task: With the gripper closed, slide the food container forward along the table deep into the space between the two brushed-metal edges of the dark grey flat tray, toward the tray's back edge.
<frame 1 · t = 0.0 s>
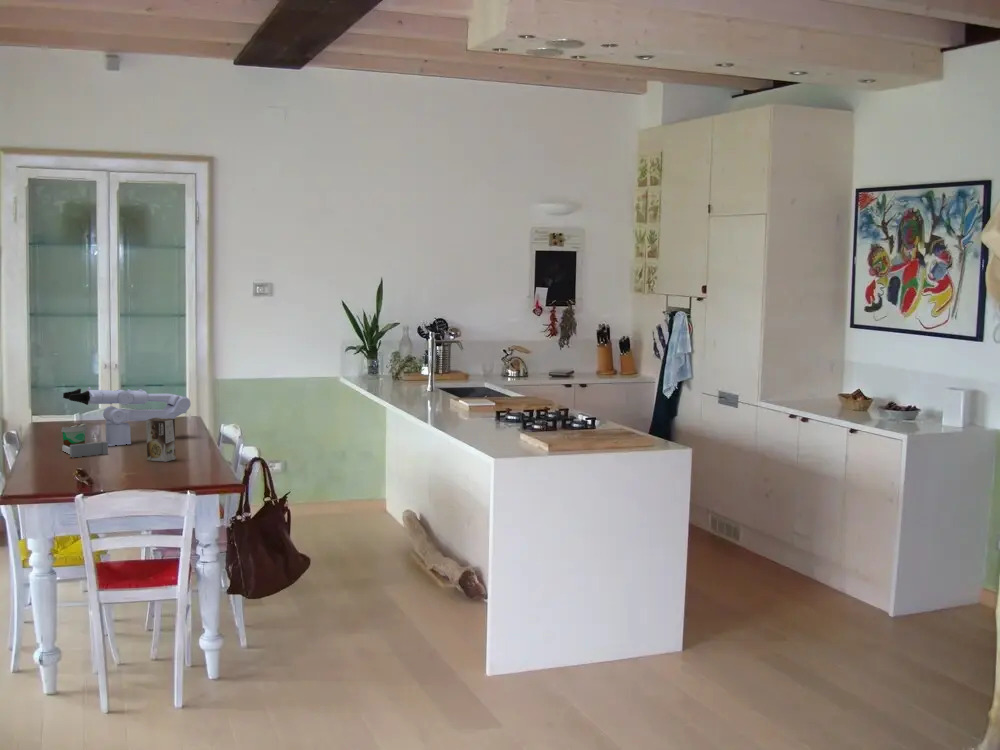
hand: (66, 396, 422), 22 cm above the table, tool horizontal, fingers open, 7 cm apart
food container: (78, 449, 425), on the table
grey flat tray: (83, 453, 416), on the table
coffee box: (161, 460, 405), on the table
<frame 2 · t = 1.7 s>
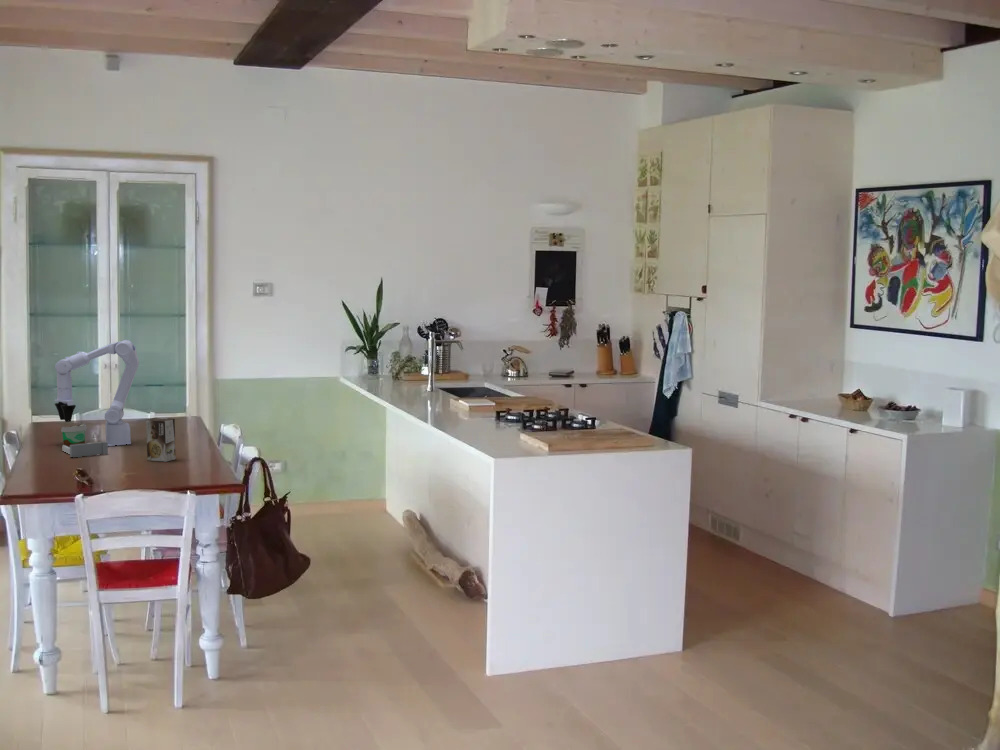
hand: (65, 420, 431), 10 cm above the table, tool pointing down, fingers open, 6 cm apart
nothing on the table moved.
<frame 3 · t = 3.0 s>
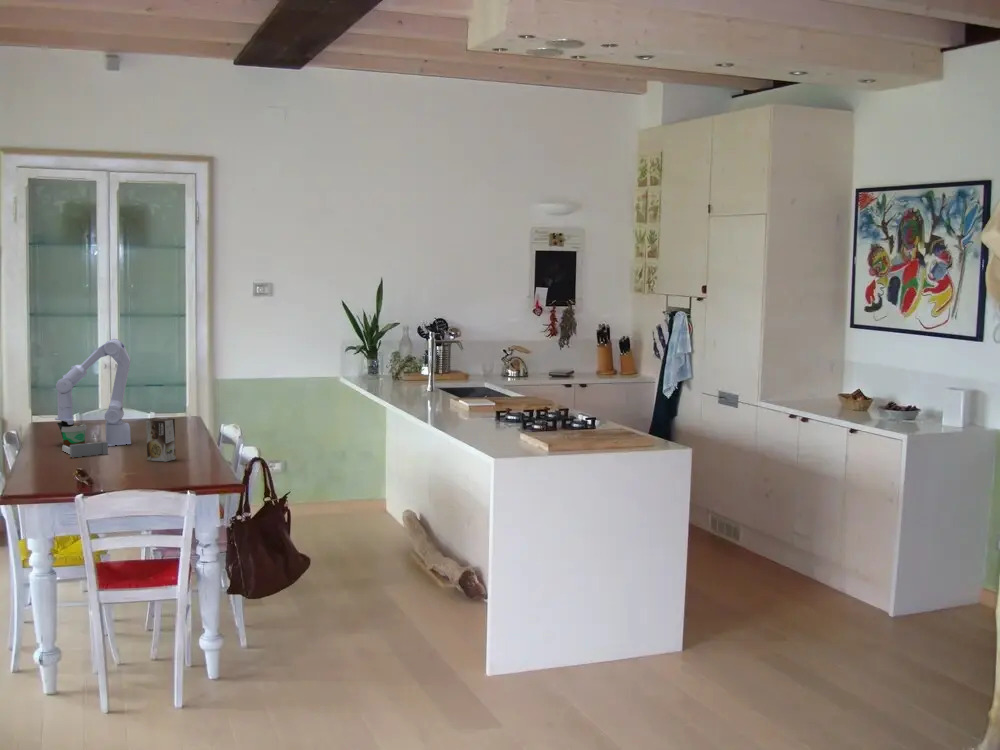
hand: (66, 439, 432), 3 cm above the table, tool pointing down, fingers closed
nothing on the table moved.
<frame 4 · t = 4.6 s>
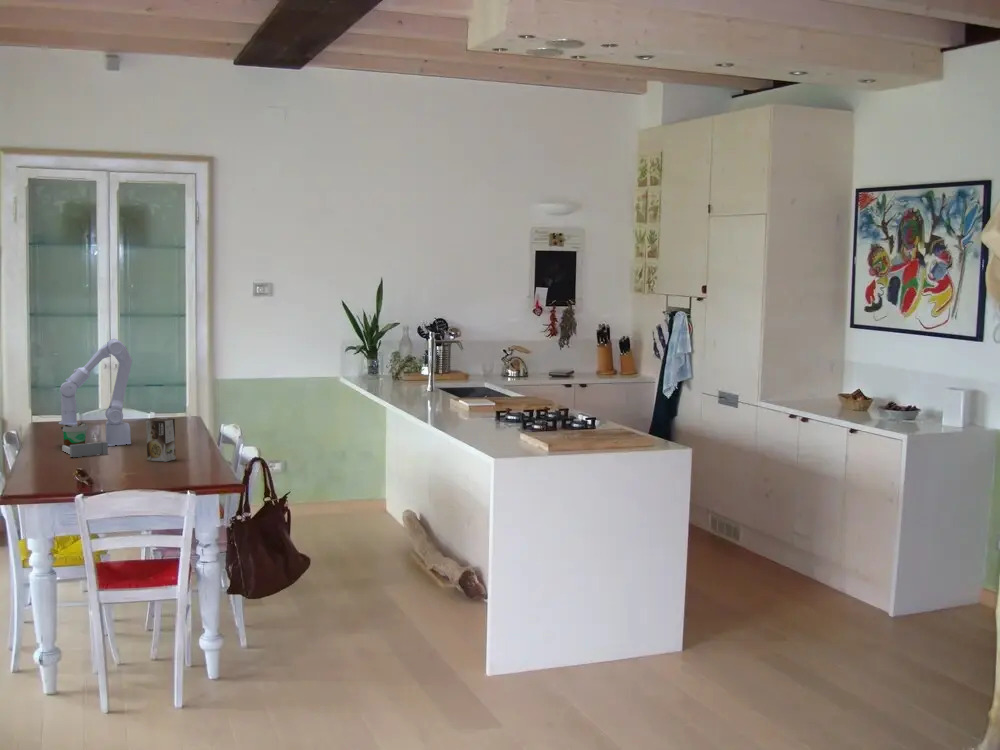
hand: (69, 443, 429), 1 cm above the table, tool pointing down, fingers closed
food container: (78, 449, 425), on the table, touching gripper
everything else where it was.
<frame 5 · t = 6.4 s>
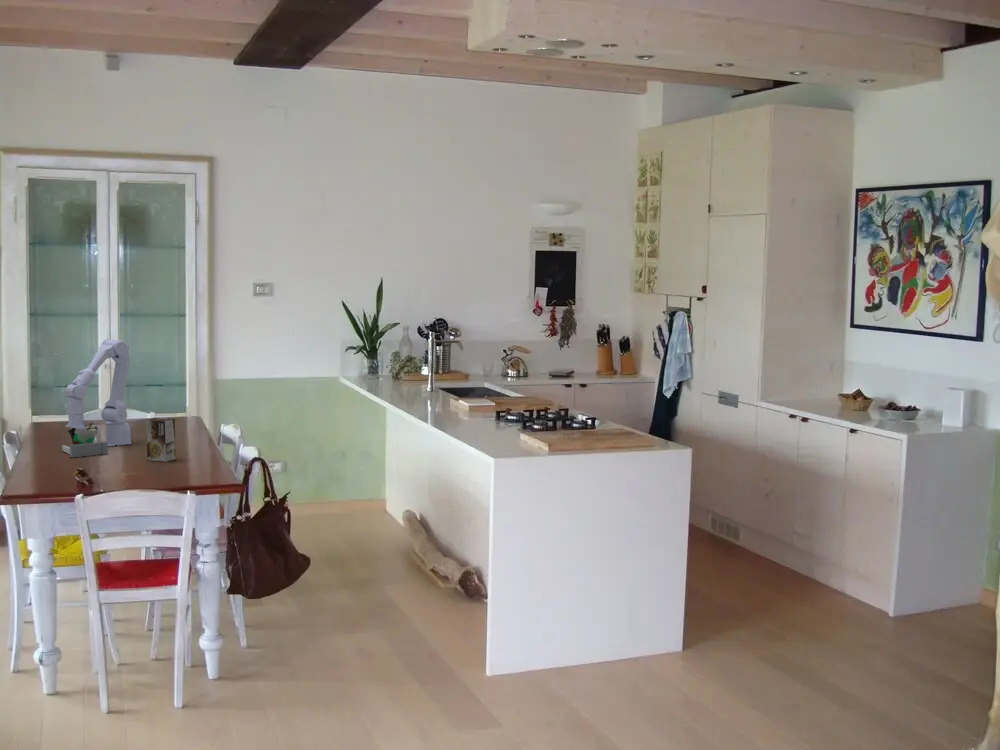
hand: (76, 446, 422), 2 cm above the table, tool pointing down, fingers closed, pressing on food container
food container: (83, 450, 420), on the table, touching gripper
everything else where it was.
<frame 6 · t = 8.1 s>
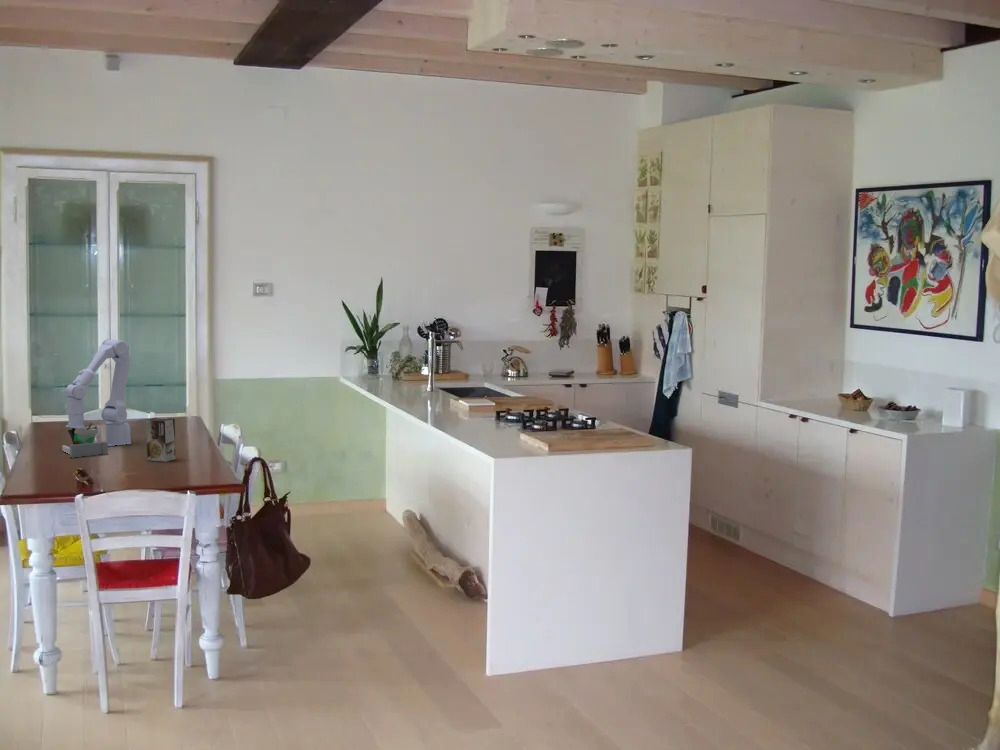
hand: (77, 447, 422), 1 cm above the table, tool pointing down, fingers closed
food container: (84, 450, 419), on the table, touching gripper
everything else where it was.
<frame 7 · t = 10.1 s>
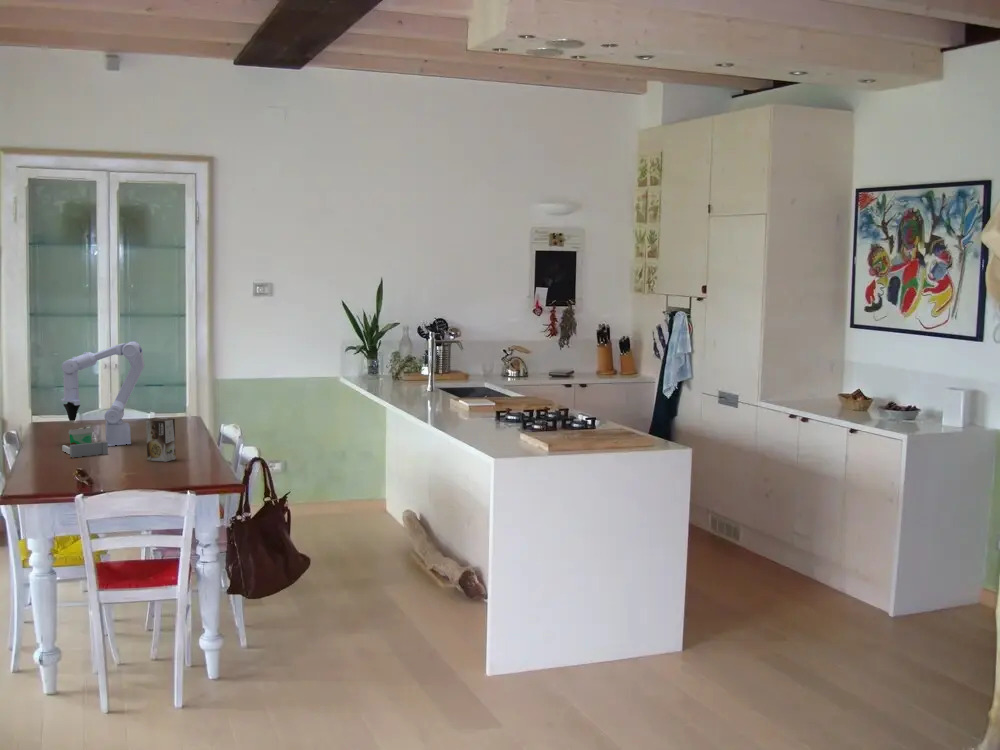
hand: (72, 420, 432), 10 cm above the table, tool pointing down, fingers closed
food container: (85, 452, 420), on the table
everything else where it was.
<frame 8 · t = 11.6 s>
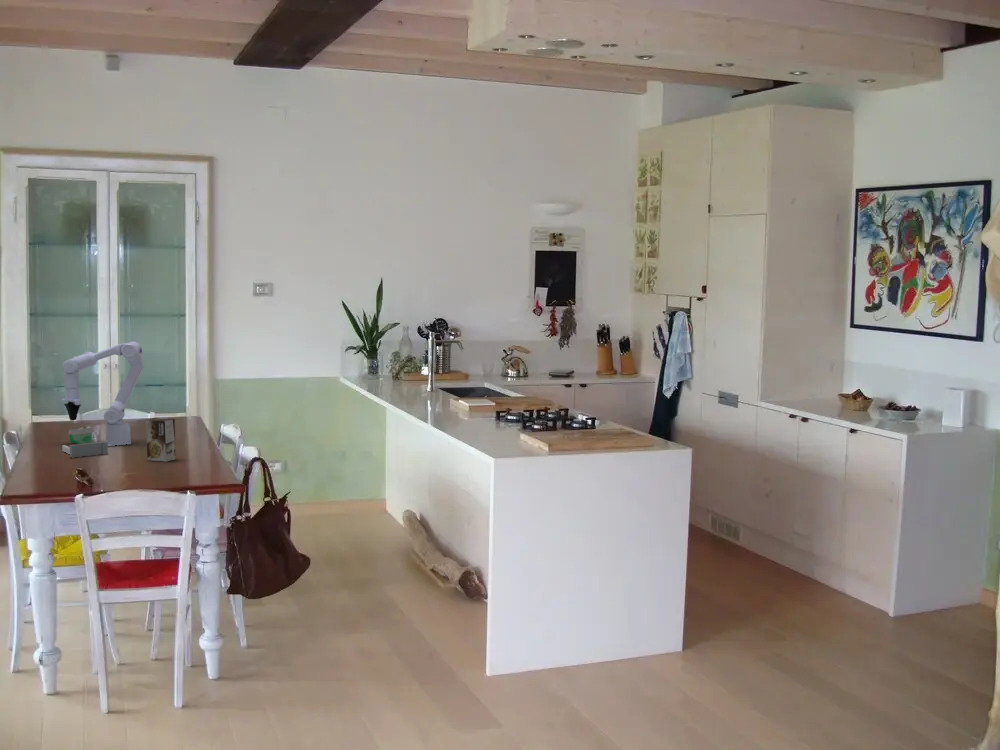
hand: (73, 420, 433), 10 cm above the table, tool pointing down, fingers closed
nothing on the table moved.
at the end: food container 2.2 cm from the target spot on the grey flat tray, point 0.0 cm above the grey flat tray's base; food container tilted 0°; food container moved 6.5 cm from its start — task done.
